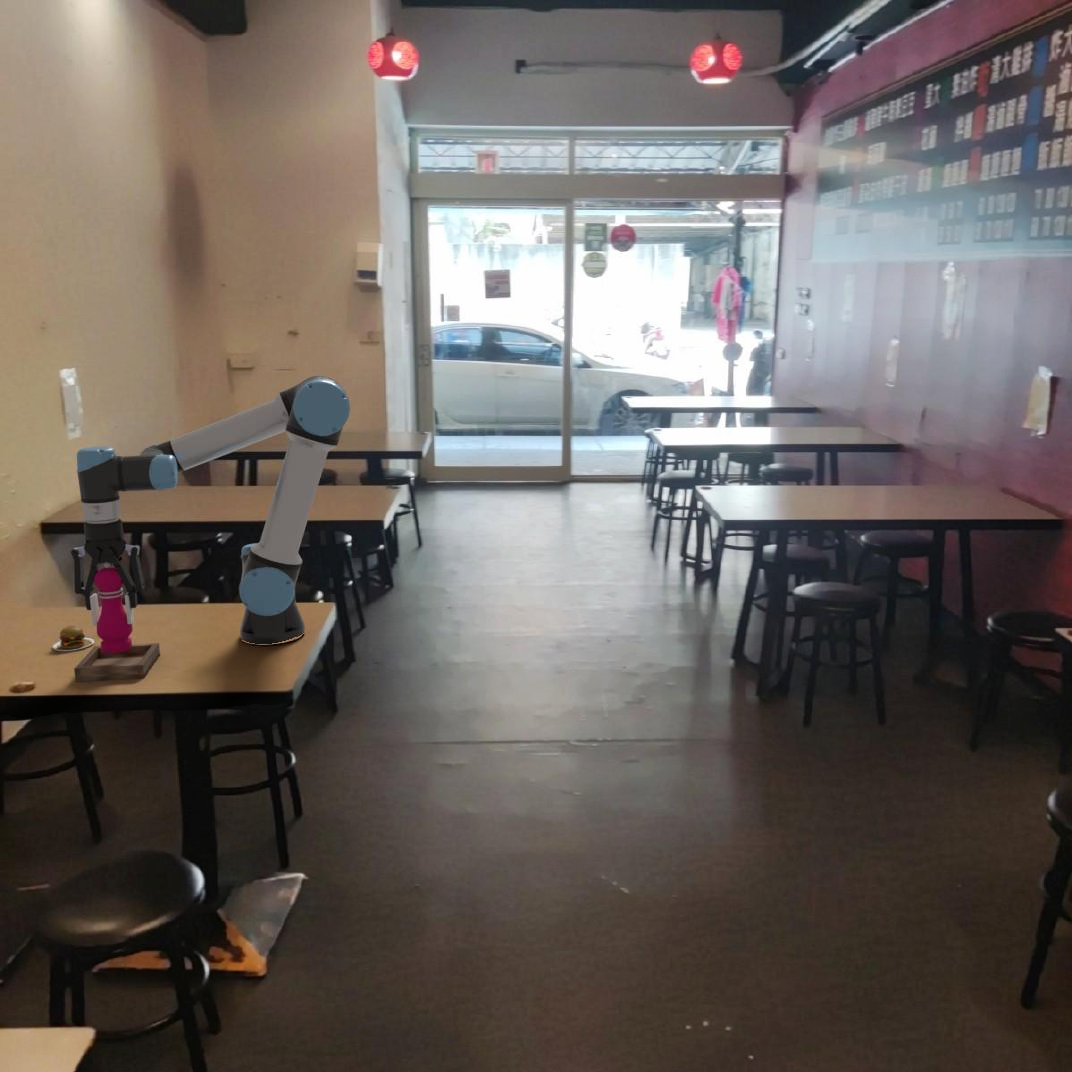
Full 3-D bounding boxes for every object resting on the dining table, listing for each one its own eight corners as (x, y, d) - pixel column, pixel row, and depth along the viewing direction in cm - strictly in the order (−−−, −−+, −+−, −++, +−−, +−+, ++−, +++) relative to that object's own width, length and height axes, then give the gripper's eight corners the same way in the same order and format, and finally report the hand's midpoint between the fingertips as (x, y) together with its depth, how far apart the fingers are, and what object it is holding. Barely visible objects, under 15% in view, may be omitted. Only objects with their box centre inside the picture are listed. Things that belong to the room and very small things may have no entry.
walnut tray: (160, 655, 219) (158, 643, 218) (144, 678, 205) (143, 664, 205) (96, 658, 217) (94, 646, 216) (75, 681, 204) (74, 668, 203)
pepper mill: (140, 643, 213) (131, 556, 209) (124, 654, 206) (114, 565, 202) (109, 642, 214) (100, 556, 209) (92, 653, 207) (81, 564, 202)
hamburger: (105, 637, 233) (102, 616, 232) (97, 654, 222) (95, 631, 221) (51, 642, 230) (48, 620, 229) (41, 659, 219) (38, 636, 218)
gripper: (48, 525, 199) (61, 630, 204) (145, 522, 201) (156, 626, 206) (60, 517, 206) (72, 619, 211) (154, 514, 208) (164, 615, 214)
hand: (113, 622), depth 209 cm, fingers closed on pepper mill, 6 cm apart
